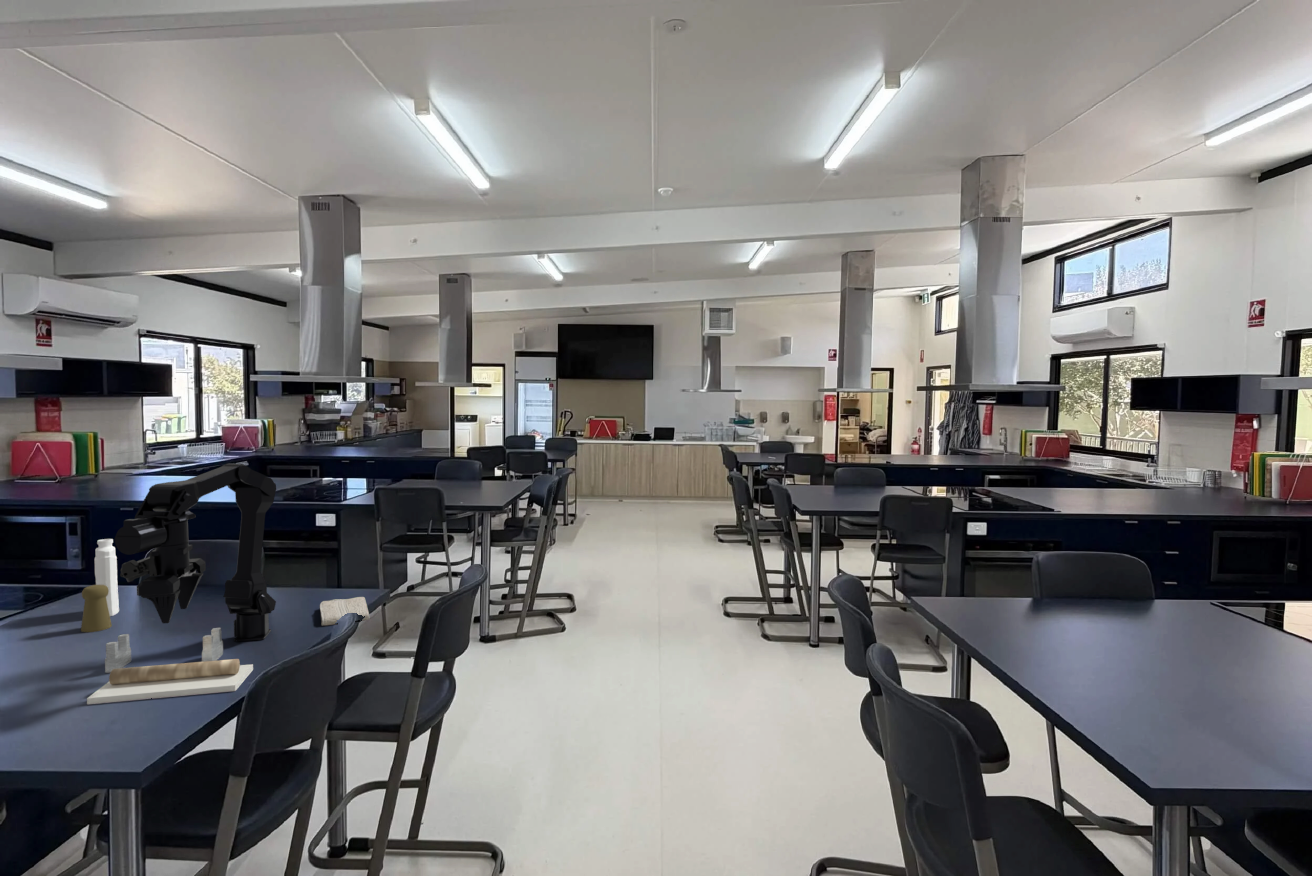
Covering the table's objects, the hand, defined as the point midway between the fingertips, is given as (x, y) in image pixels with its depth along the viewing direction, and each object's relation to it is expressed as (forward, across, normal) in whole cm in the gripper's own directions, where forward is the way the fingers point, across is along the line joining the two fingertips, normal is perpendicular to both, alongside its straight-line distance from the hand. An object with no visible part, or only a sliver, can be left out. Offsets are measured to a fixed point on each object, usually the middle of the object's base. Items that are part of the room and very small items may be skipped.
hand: (175, 615), depth 140 cm
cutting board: (+12, +7, +2) cm, 14 cm away
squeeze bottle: (+13, -52, -35) cm, 64 cm away
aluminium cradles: (+13, -7, -5) cm, 15 cm away
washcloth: (+14, -34, +27) cm, 46 cm away
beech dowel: (+10, +6, +2) cm, 12 cm away
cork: (+13, -38, -31) cm, 50 cm away
